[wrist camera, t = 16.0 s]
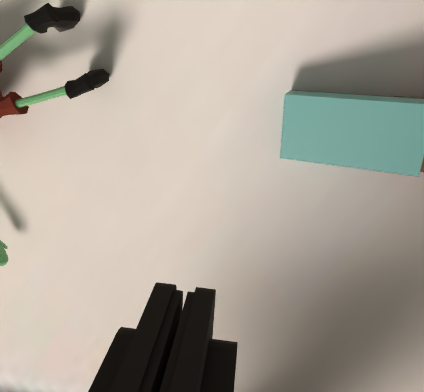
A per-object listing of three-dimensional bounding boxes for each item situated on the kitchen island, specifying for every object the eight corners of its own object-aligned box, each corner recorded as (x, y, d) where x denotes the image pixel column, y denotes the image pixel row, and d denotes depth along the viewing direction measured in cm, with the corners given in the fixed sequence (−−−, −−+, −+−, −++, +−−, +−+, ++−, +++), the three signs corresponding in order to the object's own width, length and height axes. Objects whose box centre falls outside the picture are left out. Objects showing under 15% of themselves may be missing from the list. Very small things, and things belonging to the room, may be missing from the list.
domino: (286, 150, 33) (417, 167, 29) (279, 158, 31) (418, 176, 27) (291, 90, 30) (433, 99, 27) (284, 94, 29) (436, 105, 25)
